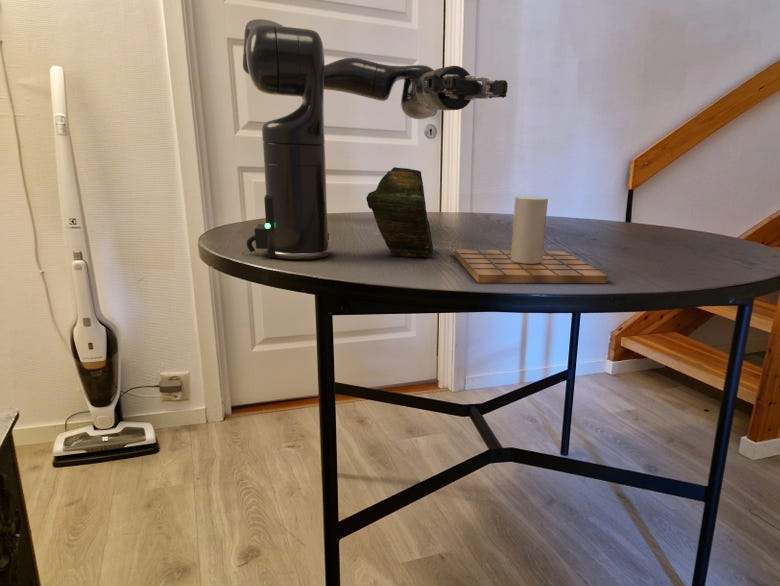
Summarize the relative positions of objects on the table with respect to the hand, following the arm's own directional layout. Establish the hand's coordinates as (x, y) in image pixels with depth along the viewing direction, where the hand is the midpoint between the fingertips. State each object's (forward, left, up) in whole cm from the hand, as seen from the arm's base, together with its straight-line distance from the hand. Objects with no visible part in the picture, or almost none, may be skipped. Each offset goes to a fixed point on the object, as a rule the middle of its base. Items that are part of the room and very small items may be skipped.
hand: (481, 85), depth 103 cm
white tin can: (+6, -15, -27) cm, 31 cm away
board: (+6, -15, -28) cm, 32 cm away
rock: (-13, -4, -28) cm, 32 cm away
